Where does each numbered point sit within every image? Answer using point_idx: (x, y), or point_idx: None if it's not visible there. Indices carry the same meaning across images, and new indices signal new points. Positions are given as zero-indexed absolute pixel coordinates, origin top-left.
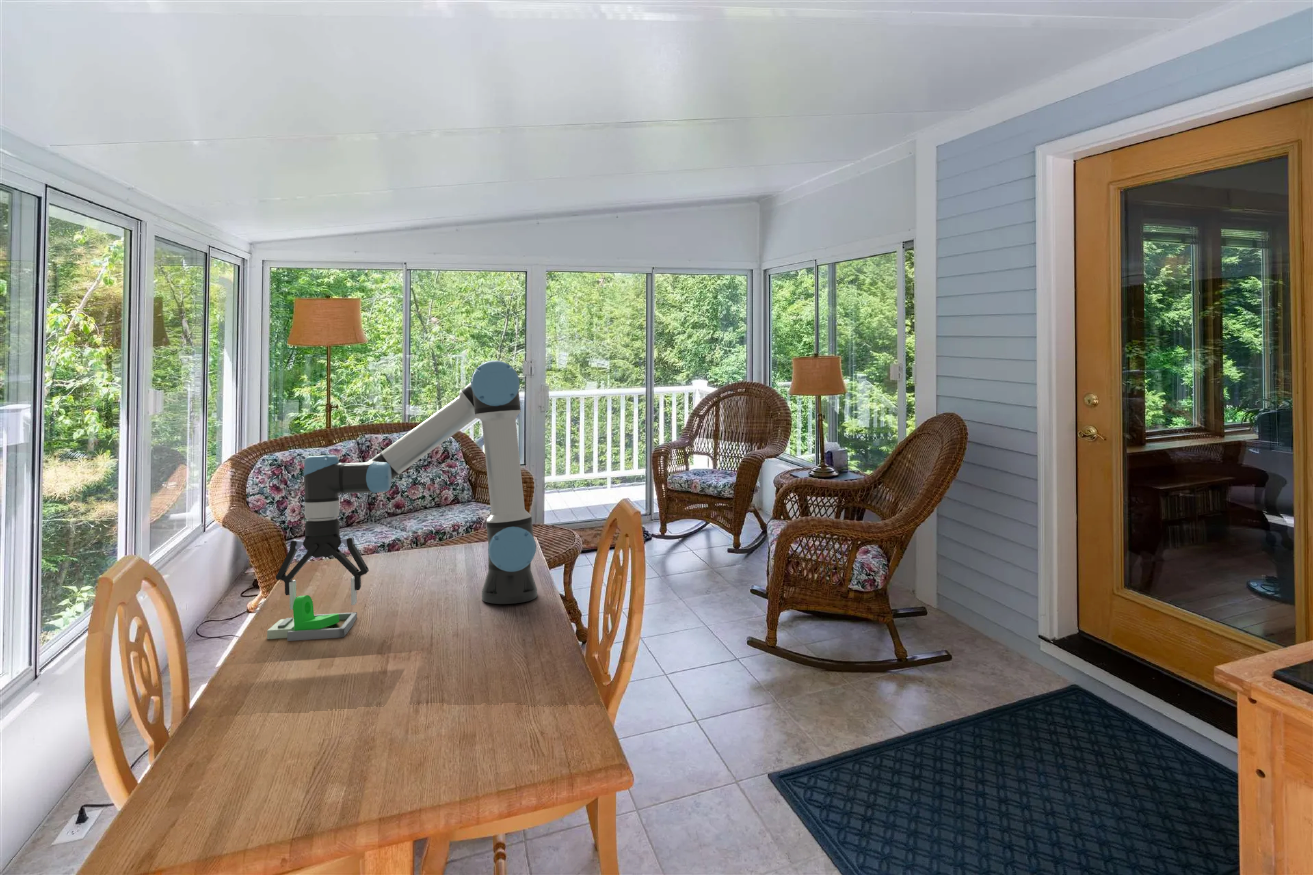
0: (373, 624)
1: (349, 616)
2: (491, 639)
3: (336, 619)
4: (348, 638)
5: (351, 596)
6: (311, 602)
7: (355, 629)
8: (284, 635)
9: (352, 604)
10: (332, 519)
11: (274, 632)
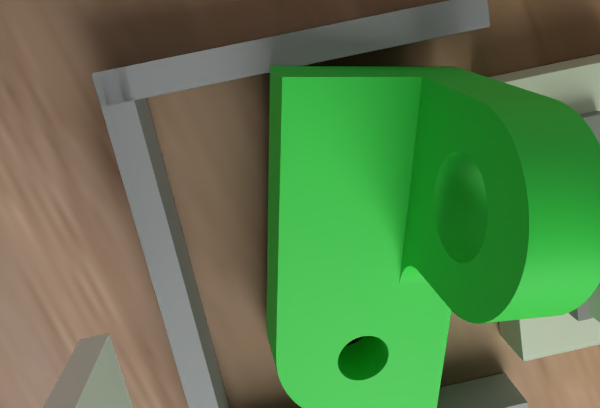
0: (56, 368)
1: (215, 397)
2: None
3: (270, 319)
4: (58, 39)
5: (85, 378)
6: (465, 296)
7: (121, 257)
8: (517, 74)
9: (96, 336)
10: None
11: (591, 62)
